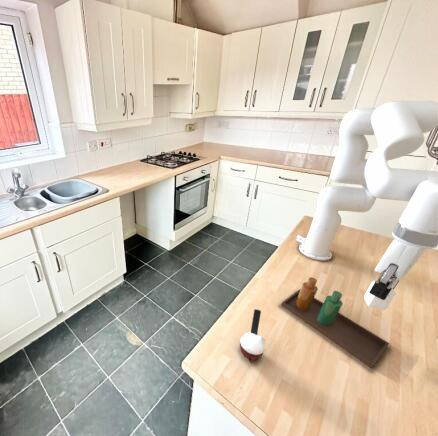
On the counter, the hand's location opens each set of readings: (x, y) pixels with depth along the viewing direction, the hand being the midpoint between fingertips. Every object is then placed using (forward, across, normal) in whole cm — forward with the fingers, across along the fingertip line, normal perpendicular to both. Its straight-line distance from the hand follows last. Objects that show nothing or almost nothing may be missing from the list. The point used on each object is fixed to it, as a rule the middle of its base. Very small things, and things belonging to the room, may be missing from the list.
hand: (381, 290), depth 64 cm
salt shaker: (+5, 0, 0) cm, 5 cm away
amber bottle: (+18, +2, -14) cm, 23 cm away
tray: (+19, +2, -6) cm, 20 cm away
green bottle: (+18, +2, -7) cm, 20 cm away
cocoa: (+19, +30, -14) cm, 38 cm away
